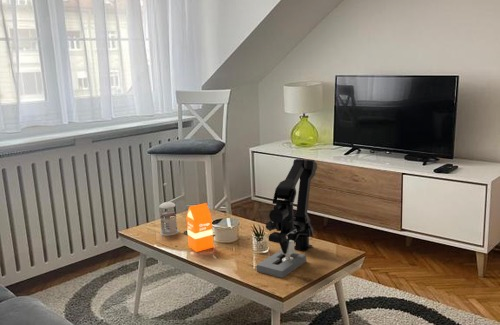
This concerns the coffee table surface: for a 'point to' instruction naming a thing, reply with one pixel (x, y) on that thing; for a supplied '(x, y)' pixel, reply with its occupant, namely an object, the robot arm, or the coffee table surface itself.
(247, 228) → the coffee table surface
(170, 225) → the french press
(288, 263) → the keyhole board
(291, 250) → the keyhole peg
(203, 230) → the orange juice
